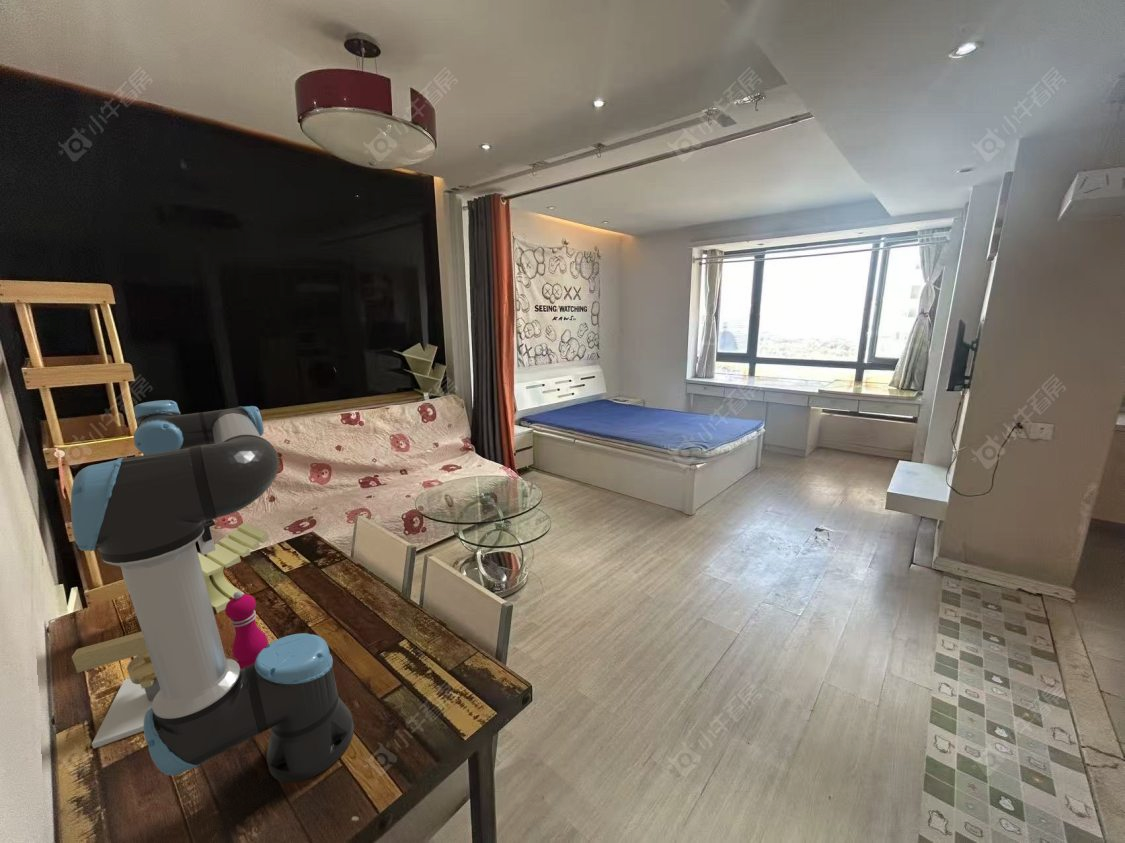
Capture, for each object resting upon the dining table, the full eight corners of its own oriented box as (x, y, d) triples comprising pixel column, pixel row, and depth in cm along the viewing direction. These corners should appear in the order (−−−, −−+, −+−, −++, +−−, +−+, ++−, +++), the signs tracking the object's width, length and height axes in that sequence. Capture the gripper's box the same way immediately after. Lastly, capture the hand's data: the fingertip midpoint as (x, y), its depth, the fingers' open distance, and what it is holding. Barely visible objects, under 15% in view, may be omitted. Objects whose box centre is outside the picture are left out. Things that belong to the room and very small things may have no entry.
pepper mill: (253, 674, 106) (236, 603, 101) (228, 670, 107) (210, 600, 102) (278, 652, 113) (262, 584, 108) (254, 648, 114) (238, 581, 109)
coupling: (211, 667, 99) (201, 631, 96) (75, 710, 89) (60, 672, 86) (220, 635, 109) (211, 602, 106) (99, 671, 98) (86, 635, 96)
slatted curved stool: (252, 567, 150) (241, 520, 145) (277, 581, 142) (267, 532, 137) (137, 621, 125) (119, 566, 120) (159, 642, 117) (142, 584, 112)
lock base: (204, 709, 97) (197, 682, 95) (93, 748, 89) (82, 720, 87) (219, 654, 112) (213, 630, 111) (125, 683, 104) (117, 658, 102)
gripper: (219, 468, 102) (239, 549, 108) (163, 454, 113) (183, 529, 118) (181, 479, 95) (204, 565, 101) (125, 464, 106) (149, 542, 111)
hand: (193, 546), depth 110 cm, fingers open, 13 cm apart
